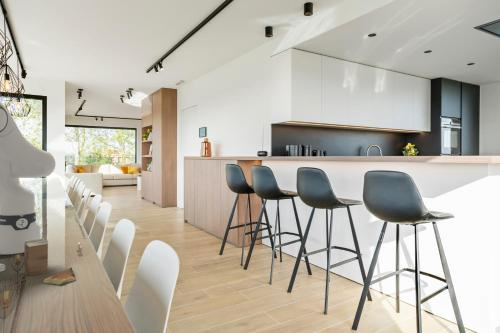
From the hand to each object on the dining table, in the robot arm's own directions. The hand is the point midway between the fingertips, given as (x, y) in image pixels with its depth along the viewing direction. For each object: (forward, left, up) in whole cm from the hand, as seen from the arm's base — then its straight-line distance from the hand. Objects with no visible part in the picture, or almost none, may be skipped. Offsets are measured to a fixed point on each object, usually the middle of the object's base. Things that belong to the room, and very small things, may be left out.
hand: (0, 263), depth 95 cm
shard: (+11, +12, -6) cm, 17 cm away
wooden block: (0, +9, -5) cm, 10 cm away
